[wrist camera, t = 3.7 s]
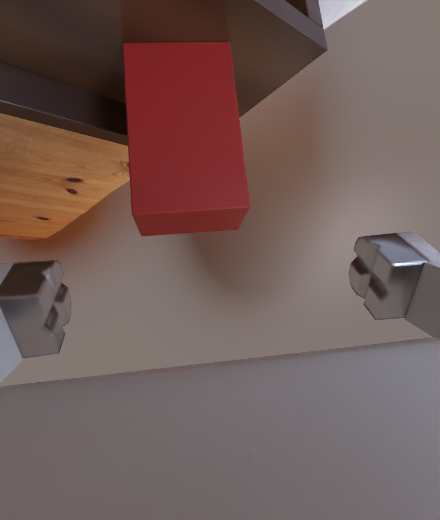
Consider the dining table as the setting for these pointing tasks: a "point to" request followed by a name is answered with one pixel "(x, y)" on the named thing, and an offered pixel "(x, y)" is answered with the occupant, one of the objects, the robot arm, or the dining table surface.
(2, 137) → the dining table surface
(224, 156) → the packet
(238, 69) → the shelf
